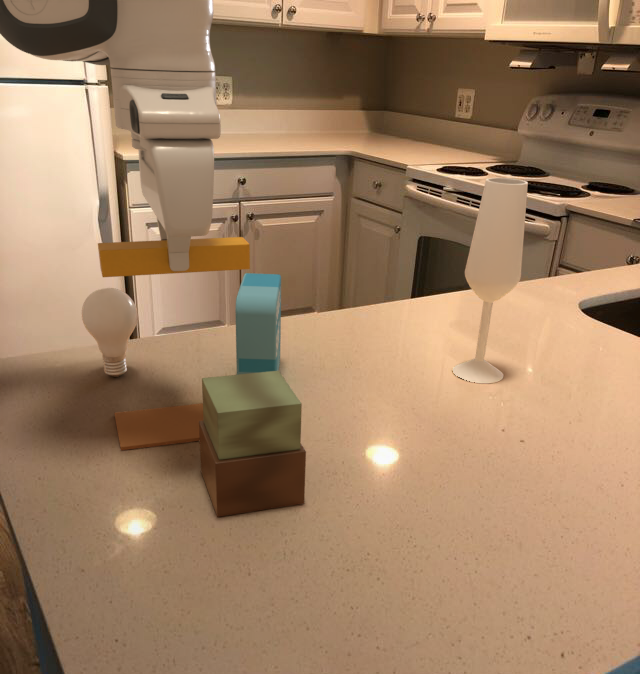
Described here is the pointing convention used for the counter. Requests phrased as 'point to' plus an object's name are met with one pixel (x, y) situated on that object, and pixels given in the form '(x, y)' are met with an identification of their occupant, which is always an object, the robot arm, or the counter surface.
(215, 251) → the bar
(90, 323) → the lightbulb
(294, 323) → the counter surface
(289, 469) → the tower
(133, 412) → the cork mat
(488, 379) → the champagne flute
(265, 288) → the data package
